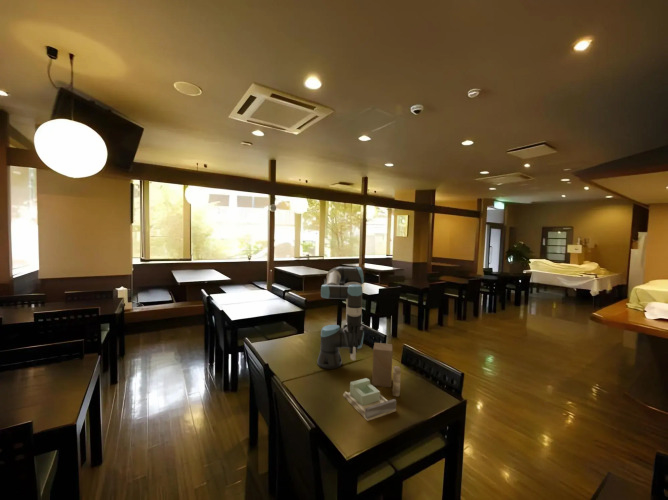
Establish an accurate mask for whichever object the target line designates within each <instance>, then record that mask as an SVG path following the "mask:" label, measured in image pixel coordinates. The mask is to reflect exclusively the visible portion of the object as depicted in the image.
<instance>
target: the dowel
mask: <svg viewBox="0 0 668 500" xmlns="http://www.w3.org/2000/svg"><path fill="white" fill-rule="evenodd" d="M392 369H393V370H392V371H393V372H392V396H393V397H396V398H397V397H398V398H399V397H400V395H401V394H400V393H401V370H402V367H401V366H398V365H394V366H392Z"/></svg>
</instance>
